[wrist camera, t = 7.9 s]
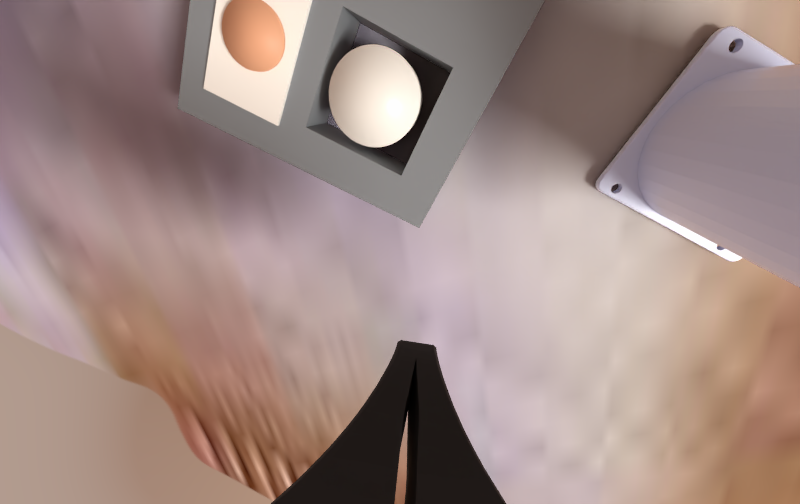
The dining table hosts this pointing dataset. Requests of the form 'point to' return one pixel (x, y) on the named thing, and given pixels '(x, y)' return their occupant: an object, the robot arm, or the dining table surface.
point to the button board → (311, 73)
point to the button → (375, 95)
